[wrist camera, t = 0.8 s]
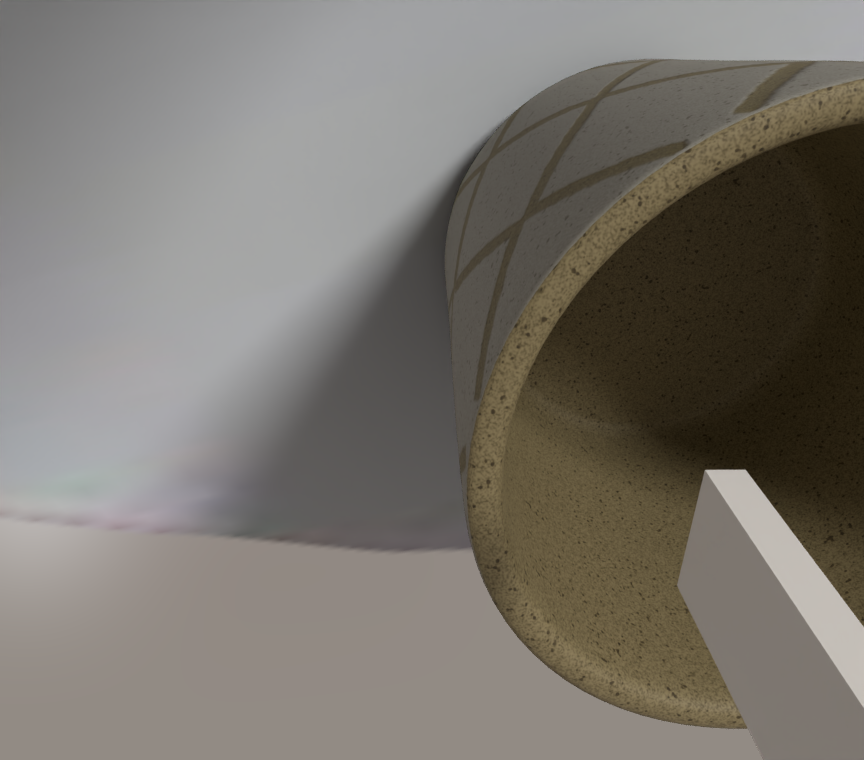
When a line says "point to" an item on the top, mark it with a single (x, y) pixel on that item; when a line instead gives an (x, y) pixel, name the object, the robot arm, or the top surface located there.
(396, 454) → the top surface
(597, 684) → the planter
